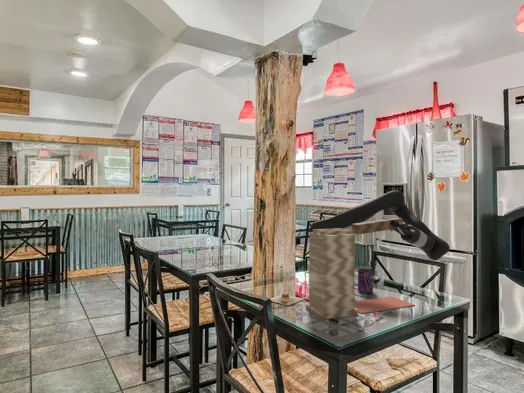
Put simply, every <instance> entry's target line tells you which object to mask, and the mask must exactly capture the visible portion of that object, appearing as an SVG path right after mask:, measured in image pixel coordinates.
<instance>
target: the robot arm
mask: <svg viewBox="0 0 524 393" xmlns="http://www.w3.org/2000/svg"><path fill="white" fill-rule="evenodd" d="M386 209H388V210H389V211H390V212H392V213H393V214H394V215H396V217H397V218H402V219H403V224H401V223H398V222H396V221H395V220H391V222H390V224H391V225H393V226H394V227H397V229H391V230H389V231H390V232H395V233H396V234H398V235H400V238H401V240H402V241H404V242H406V243H408V244H410V246H413V247H416V248H418V249H419V250H422V251H423V252H424V253H425V254H426V256H427V257H428V258H429V259H430V260H432V261H438V260H439V259H441V258H442V257H444V256H445V255H446V254H447V253H448V252H450V250H451V248H450V244H449V243H448V242H446V241H445V240H444V239H442V238H440V237H439V236H438V235H436V234H435V233H434V232H433V231H432V230H431V229H430V228H429V227H428V226H427V225H426V224H425V222H423V220H422V219H420V218H418V217H417V216H416V215H414V214H413V213H412V211H411V210H410V209H409V207H408V206H407V204H406V200H405V195H404V193H403V192H402V191H400V190H396V189H395V190H391V191H388V192H386V193H384V194H382V195H380V196H378V197H376V198H373V199H371V200H368V201H366V202H363V203H361V204H357V205H355V206H352V207H350V208H347V209H345V210H343V211H340V213H338V214H335V216H332V217H328V218H325V219H322V220H315V221H314V222H312V223H311V224H310V226H309V234H310V233H311V232H313V230H315V229H339V228H342V229H343V230H344V229H347V228H350V227H351V228H352V224H356V223H363V222H367V221H368V220H369V219H371V218H372V217H374V216H375V215H376V214H378V213H379V212H381V211H384V210H386ZM384 219H385V218H384ZM384 219H382V220H384Z"/></svg>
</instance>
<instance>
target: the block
mask: <svg viewBox="0 0 524 393" xmlns="http://www.w3.org/2000/svg"><path fill="white" fill-rule="evenodd" d="M391 220H395V221H396V222H398V223H401V224H404V222H403V219H402V218H399V217H392V218H384V220H383V219H378V220H371V221H365V222H362V223H356V224H352V226H351V234H355V235H357V236H358V235H364V234H371V233H377V232H383V231H390V230H391V229H397V227H394V226H393V225H391V224H390V222H391Z"/></svg>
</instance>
